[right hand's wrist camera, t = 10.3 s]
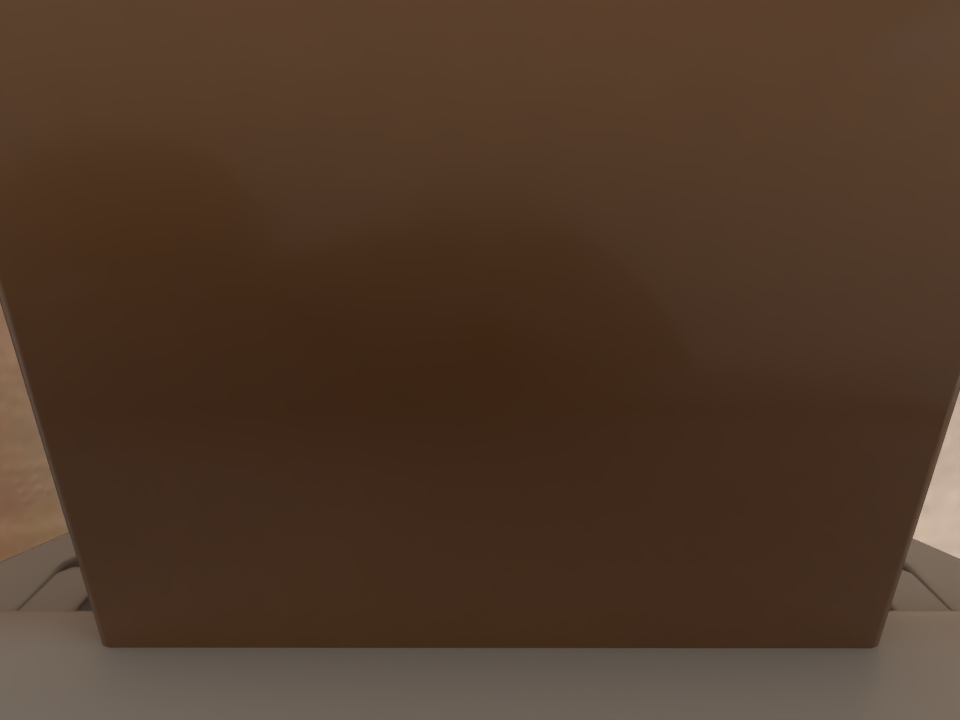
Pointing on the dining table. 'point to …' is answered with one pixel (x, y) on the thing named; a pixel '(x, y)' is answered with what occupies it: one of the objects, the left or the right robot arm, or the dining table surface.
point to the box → (485, 313)
